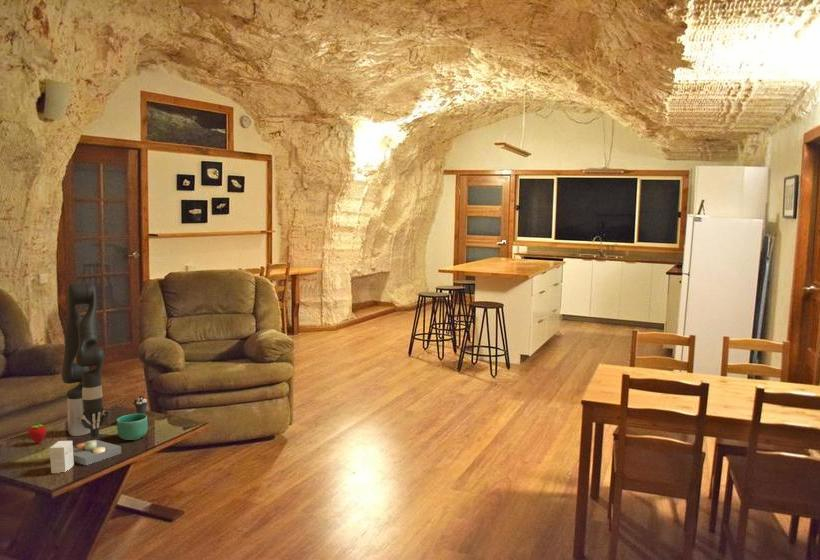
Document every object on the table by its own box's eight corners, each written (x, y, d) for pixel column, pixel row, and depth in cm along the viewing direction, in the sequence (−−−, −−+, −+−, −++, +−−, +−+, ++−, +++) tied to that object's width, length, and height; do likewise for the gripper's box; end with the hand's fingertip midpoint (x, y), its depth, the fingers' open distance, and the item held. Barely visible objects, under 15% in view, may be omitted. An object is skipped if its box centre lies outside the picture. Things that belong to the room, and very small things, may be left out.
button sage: (82, 451, 274) (81, 442, 273) (92, 447, 278) (92, 439, 277) (89, 453, 271) (88, 444, 271) (99, 449, 275) (98, 441, 275)
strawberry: (32, 441, 293) (31, 419, 292) (50, 441, 293) (48, 419, 292) (25, 446, 287) (24, 424, 286) (43, 445, 287) (42, 423, 286)
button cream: (90, 457, 271) (90, 449, 271) (101, 454, 275) (100, 446, 275) (97, 459, 269) (97, 451, 268) (107, 456, 273) (107, 448, 272)
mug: (141, 442, 290) (140, 422, 289) (113, 443, 290) (111, 422, 289) (155, 430, 306) (154, 410, 305) (128, 430, 306) (127, 411, 305)
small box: (59, 466, 263) (58, 440, 262) (74, 465, 264) (72, 440, 263) (50, 473, 256) (49, 447, 254) (65, 473, 256) (63, 447, 255)
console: (60, 458, 272) (60, 451, 272) (95, 446, 286) (95, 439, 286) (86, 465, 263) (85, 458, 263) (121, 453, 277) (121, 446, 277)
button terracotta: (74, 453, 277) (74, 445, 276) (84, 449, 281) (84, 441, 280) (81, 455, 274) (80, 447, 274) (91, 451, 278) (90, 443, 278)
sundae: (152, 421, 320) (150, 391, 318) (141, 425, 314) (139, 394, 312) (142, 419, 323) (140, 389, 321) (131, 423, 317) (129, 393, 315)
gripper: (101, 391, 278) (103, 430, 280) (71, 399, 267) (74, 440, 269) (112, 393, 275) (114, 433, 277) (83, 401, 263) (85, 443, 265)
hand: (94, 436), depth 273 cm, fingers closed
